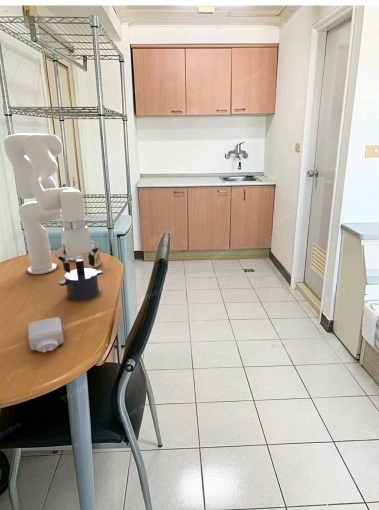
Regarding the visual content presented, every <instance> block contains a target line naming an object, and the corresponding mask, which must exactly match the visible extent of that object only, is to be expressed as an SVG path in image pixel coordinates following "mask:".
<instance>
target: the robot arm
mask: <svg viewBox="0 0 379 510" xmlns="http://www.w3.org/2000/svg"><path fill="white" fill-rule="evenodd" d="M3 147H4V150H5V154H6V157H7V158H8V160H9V162H10V164H11V166H12V169H13V175H14V177H15V184H16V188H17V192H18V195H19V197H20V198H21V199H23V200H34V199H35V201H30V202H26V203H23V204H21V205H20V206H19V208H18V216H19V220H20V221H21V224H22V227H23V232H24V238H25V242H26V248H27V254H28V259H29V264H30V266H28V268H27V273H29V274H31V275H43V274H48V273H51V272H54V271H55V270H56V269H57V268H58V267H57V264H56V263H54V262H53V257H52V250H51V244H50V239H49V232H48V231H47V229H46V228H45V227H44V226H43V225H42V223H48V222H53V221H58V220H59V219H60V218H61V217H62V223H63V228H62V229H61V238H60V241H61V246H60V247H59V248H58V249H56V250H55V251H54V252H53V255H54V256H55V257H56V258H57V259H58V261H61V262H62V264H63V270H64V272H66V273H67V272H68V273H70V272H71V271H72V270H71V264H70V262H69V261H70V260H69V259H70V257H74V256H78V255H82V254H86V253H89V255H88V259H89V265H91V266H95V265H94V263H95V258H94V256H95V254H96V252H97V251H98V247H99V248H100V242H98V241H94V240H92V238H91V235H90V231H89V228H88V226H87V224H89V219H88V218H85V209H84V199H83V193H82V192H81V191H80V190H79V189H74V188H73V187H70V186H66V187H65V186H64V187H57V183H56V181H55V180H54V178H53V177H52V176H53V175H55V173H57V171H58V168H59V165H58V162H57V161H56V159H55V157H60V156H61V155H62V154H63V150H64V146H63V143H62V141H61V139H60V138H59V136H57V135H56V134H52V133H51V134H49V133H14V134H9V135H6V137H5V138H4V140H3ZM92 245H94V248H93V249H92ZM61 254H62V255H63V256H62V255H61Z"/></svg>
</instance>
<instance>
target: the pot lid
mask: <svg viewBox="0 0 379 510" xmlns="http://www.w3.org/2000/svg"><path fill="white" fill-rule="evenodd" d="M75 267H76V268H75V269H72V270H70V271H71V272H70V273H68V272H66V273H65V274H64V275H63V277H64V278H63V279H64V280H68V281H84V280H89V279H91V278H94V277H95V276H97V274H98V272H97V271H98V270H97V269H95V268H84V262H83V259H81V258H80V259H77V260H75ZM97 277H98V276H97Z"/></svg>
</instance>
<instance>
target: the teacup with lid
mask: <svg viewBox="0 0 379 510" xmlns="http://www.w3.org/2000/svg"><path fill="white" fill-rule="evenodd" d="M93 248H94V245H92V249H93ZM88 255H89V253H86V254H82V255H81V258H80V259H83V262H84V268H91V269H95V268H98V267H100V266H101V263H102V262H101V254H100V246H99V247H98V251H97V252H96V254H95V256H94V258H95V263H94V265H95V266H91V265H89V259H88Z"/></svg>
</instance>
